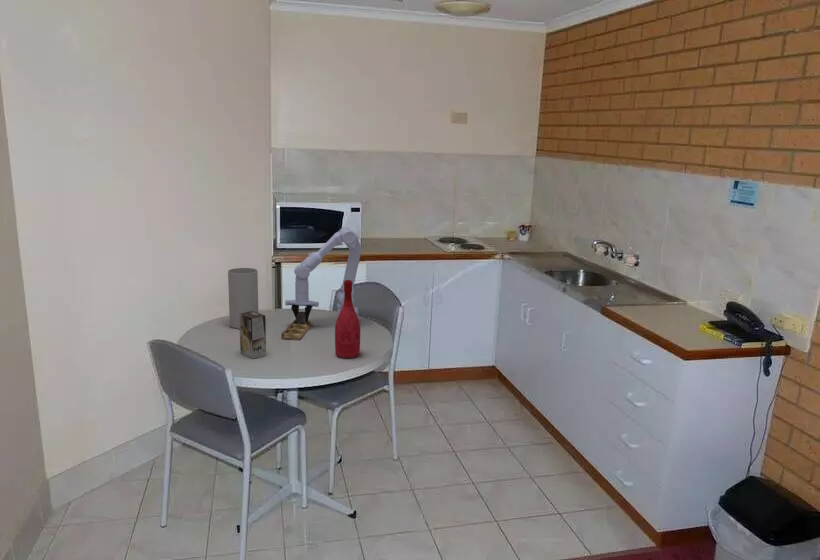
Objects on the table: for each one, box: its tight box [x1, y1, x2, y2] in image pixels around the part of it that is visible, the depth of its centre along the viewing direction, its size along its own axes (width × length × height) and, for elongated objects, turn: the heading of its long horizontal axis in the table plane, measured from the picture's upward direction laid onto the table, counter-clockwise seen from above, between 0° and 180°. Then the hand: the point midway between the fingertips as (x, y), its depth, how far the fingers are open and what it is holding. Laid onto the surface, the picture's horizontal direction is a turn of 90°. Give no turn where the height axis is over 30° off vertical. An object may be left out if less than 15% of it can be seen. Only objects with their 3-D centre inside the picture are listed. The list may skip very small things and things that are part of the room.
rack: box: [280, 319, 313, 341], centre depth 273 cm, size 8×22×2 cm, turn 176°
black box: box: [297, 311, 307, 325], centre depth 279 cm, size 4×5×6 cm
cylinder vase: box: [227, 267, 259, 330], centre depth 278 cm, size 12×12×25 cm
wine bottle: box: [334, 280, 361, 359], centre depth 243 cm, size 10×10×30 cm
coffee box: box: [239, 311, 267, 359], centre depth 242 cm, size 9×6×16 cm
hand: (302, 321), depth 280 cm, fingers closed on black box, 3 cm apart
